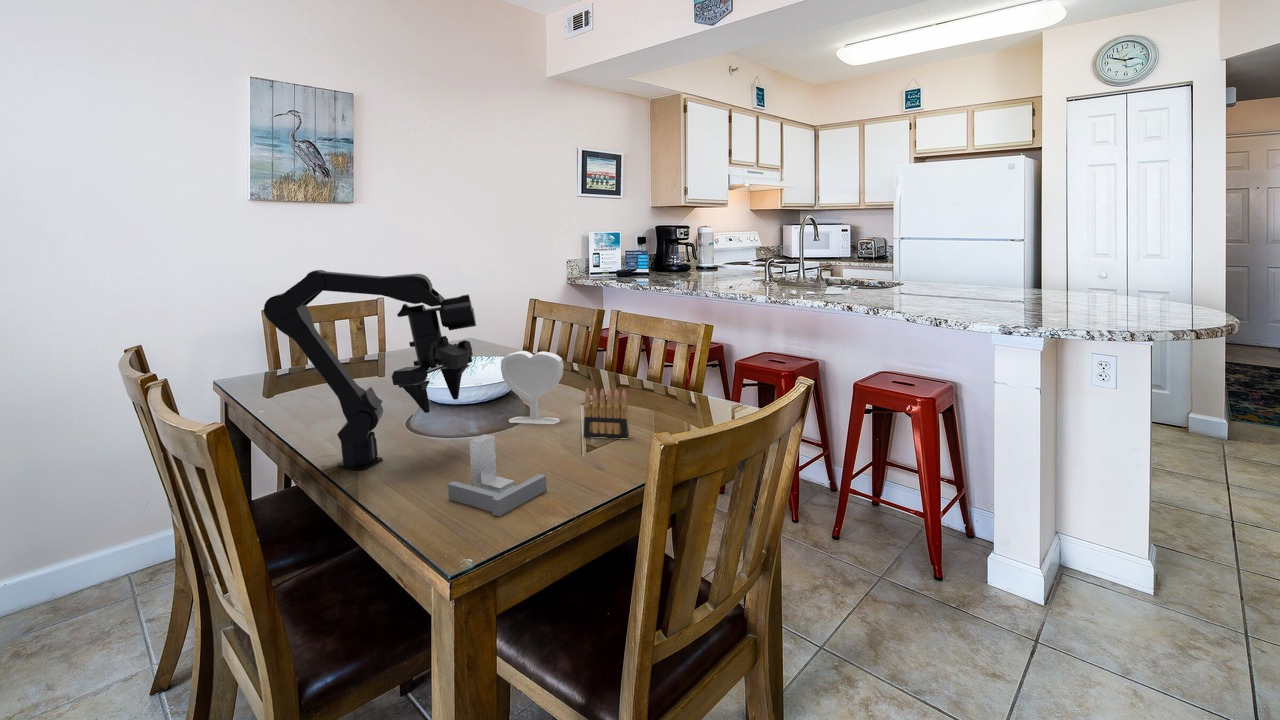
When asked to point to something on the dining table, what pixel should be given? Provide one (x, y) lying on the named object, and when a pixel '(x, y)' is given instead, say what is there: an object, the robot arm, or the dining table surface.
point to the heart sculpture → (532, 380)
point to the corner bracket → (497, 495)
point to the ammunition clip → (606, 416)
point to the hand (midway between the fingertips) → (441, 405)
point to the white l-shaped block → (486, 466)
